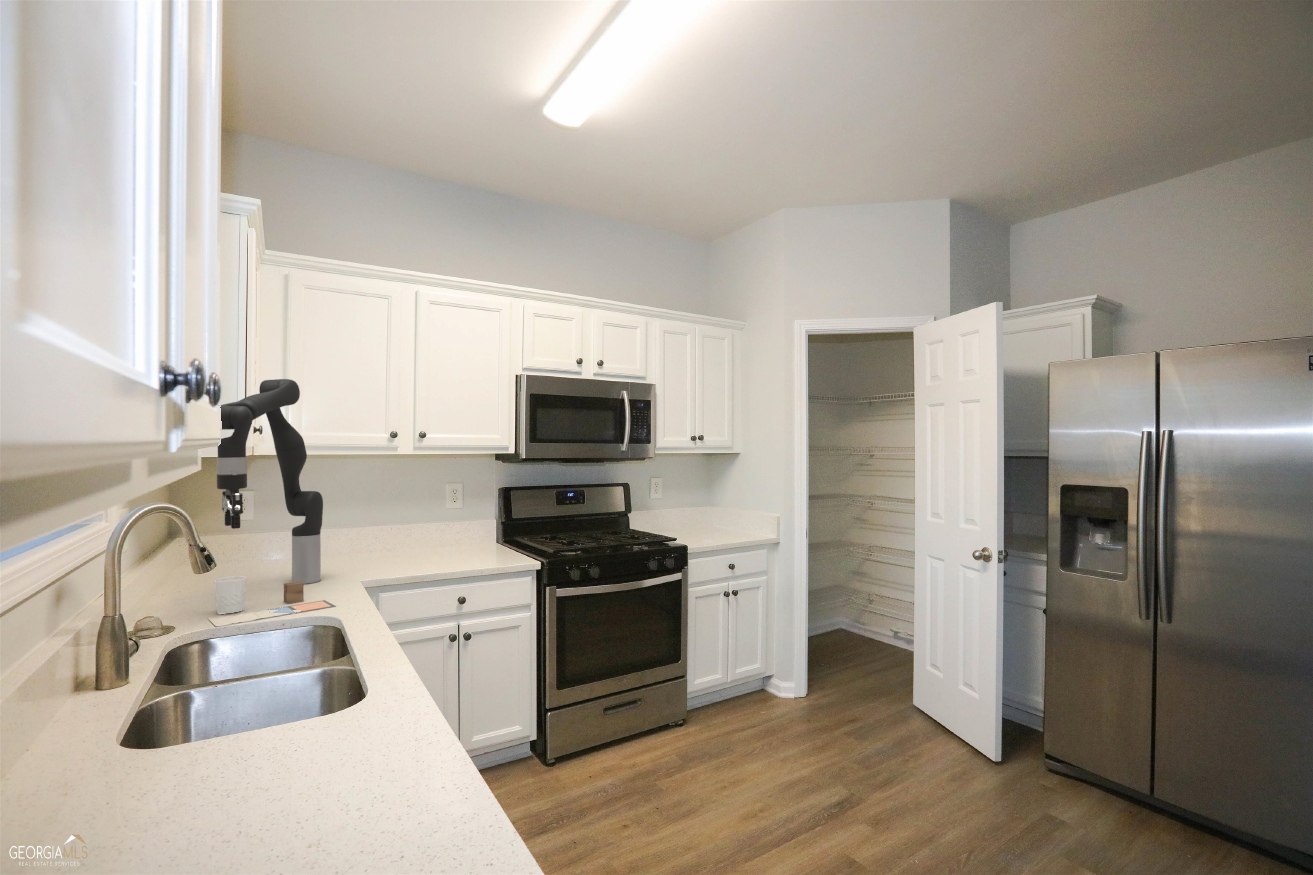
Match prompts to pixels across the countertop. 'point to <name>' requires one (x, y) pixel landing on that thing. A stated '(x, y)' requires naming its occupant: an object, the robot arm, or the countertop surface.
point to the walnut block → (293, 592)
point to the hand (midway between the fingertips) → (232, 526)
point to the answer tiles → (304, 607)
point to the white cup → (230, 594)
